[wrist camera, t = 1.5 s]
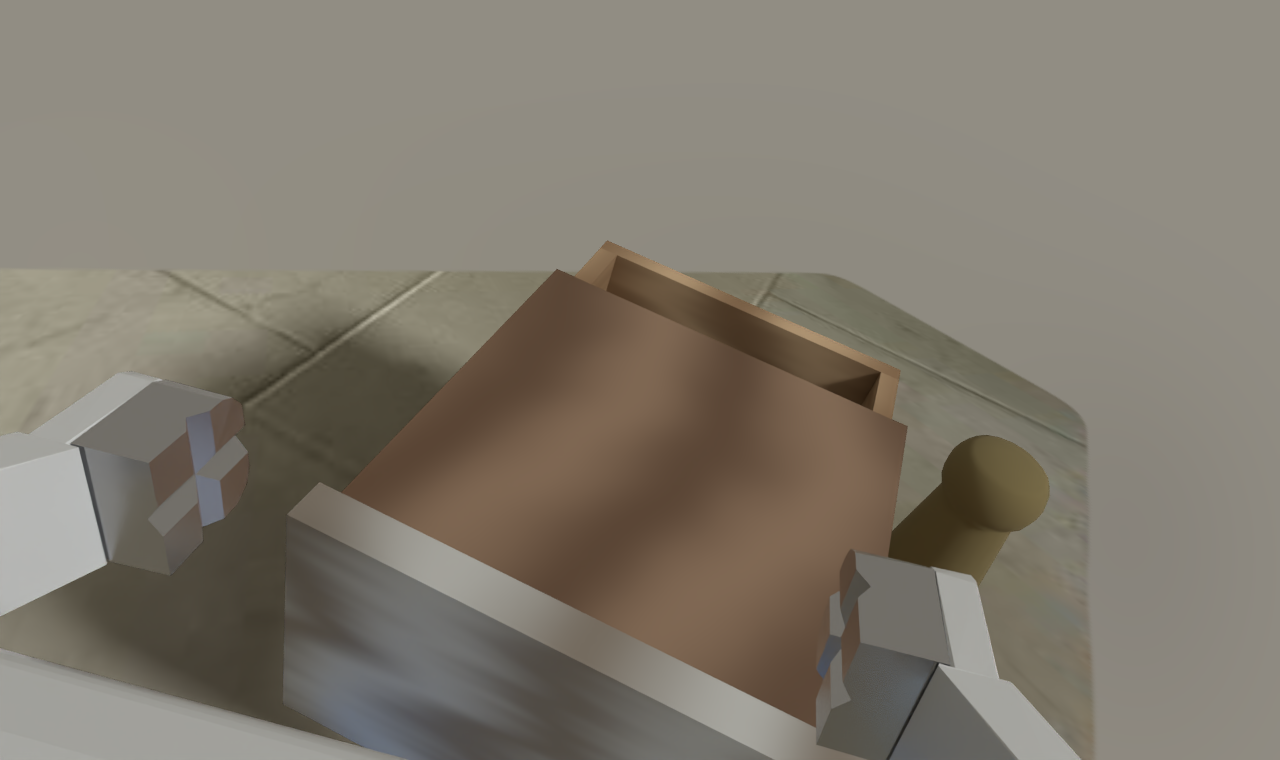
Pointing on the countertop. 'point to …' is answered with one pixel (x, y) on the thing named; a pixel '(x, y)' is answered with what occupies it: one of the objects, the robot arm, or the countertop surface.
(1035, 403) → the countertop surface
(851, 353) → the storage box
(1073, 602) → the countertop surface
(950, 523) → the cork
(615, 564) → the sliding lid
